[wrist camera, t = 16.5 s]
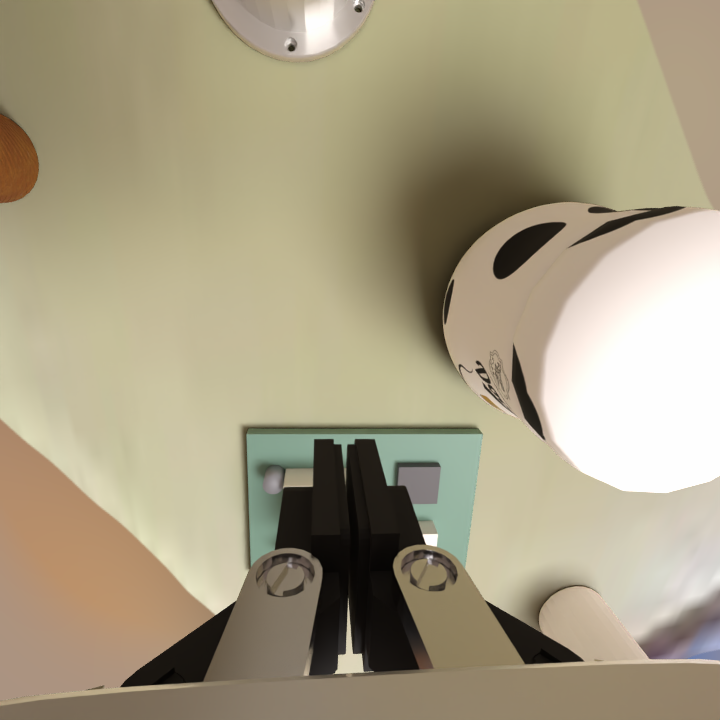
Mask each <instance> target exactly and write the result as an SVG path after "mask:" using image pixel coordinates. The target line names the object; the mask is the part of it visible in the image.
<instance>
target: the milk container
mask: <svg viewBox="0 0 720 720" xmlns="http://www.w3.org/2000/svg"><path fill="white" fill-rule="evenodd" d="M443 329H444V336H445V340H446V344H447V348H448V351H449V354H450V357H451V359H452V361H453V363H454V365H455V367H456V369H457V371H458V372H459V374H460V376H461V377H462V378H463V380H464V381H465V383H466V384H467V385H468V386H469V387H470V388H471V389H472V391H473V392H474V393H475V394H477V395H478V396H479V397H480V398H481V399H482V400H484V401H485V402H486V403H488V404H489V405H491V406H492V407H494V408H495V409H497V410H499V411H501V412H503V413H505V414H507V415H510V416H512V417H515V418H517V419H520V420H521V421H522V422H523V423H524V424H525V425H526V426H527V427H528V428H529V429H530V430H531V431H532V432H533V433H534V434H535V435H536V436H537V437H538V438H540V439H541V440H542V441H543V442H545V443H546V444H548V445H549V447H550V448H551V449H552V450H553V451H554V452H555V453H556V454H557V455H558V456H559V457H560V458H561V459H563V460H564V461H566V462H567V463H569V464H570V465H571V466H573V467H574V468H576V469H577V470H579V471H581V472H583V473H585V474H587V475H589V476H591V477H594V478H596V479H598V480H600V481H603V482H605V483H607V484H609V485H612V486H614V487H616V488H618V489H620V490H623V491H639V492H658V493H667V492H671V491H675V490H679V489H682V488H686V487H690V486H694V485H697V484H701V483H705V482H709V481H711V480H713V479H715V478H716V477H718V476H720V211H719V210H711V209H704V208H695V207H680V206H673V207H664V208H645V209H635V210H626V211H618V212H617V211H615V210H613V209H609V208H606V207H603V206H599V205H595V204H589V203H578V202H562V203H553V204H547V205H542V206H537V207H534V208H531V209H528V210H525V211H522V212H520V213H517V214H515V215H513V216H511V217H509V218H507V219H505V220H503V221H502V222H500V223H499V224H497V225H495V226H494V227H493V228H491V229H490V230H488V231H487V232H486V233H484V234H483V235H482V236H481V237H480V238H479V239H478V240H477V241H476V242H475V243H474V244H473V245H472V246H471V247H470V248H469V249H468V251H467V252H466V253H465V255H464V256H463V257H462V259H461V260H460V262H459V264H458V265H457V267H456V269H455V271H454V273H453V275H452V277H451V280H450V282H449V285H448V288H447V292H446V296H445V300H444V307H443Z"/></svg>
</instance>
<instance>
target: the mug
mask: <svg viewBox="0 0 720 720" xmlns="http://www.w3.org/2000/svg"><path fill="white" fill-rule="evenodd" d="M539 626H540V628H541V631H542V633H543V634H544V635H546V636H548V637H549V638H551V639H553V640H554V641H556V642H558V643H560V644H561V645H563V646H565V647H566V648H568V649H570V650H571V651H572V652H574V653H575V654H577V655H578V656H579V657H581V658H582V659H583V660H584V661H585V662H589V661H594V659H597V660H603V661H616V660H640V659H649V658H648V657H647V655H646V654H645V653H644V651H643V650H642V649H641V648H640V646H639V645H638V644H637V642H636V641H635V640H634V638H633V637H632V636H631V635H630V633H629V632H628V631H627V629H626V628H625V627H624V626H623V624H622V623H621V622H620V620H619V619H618V618H617V617H616V615H615V614H614V613H613V611H612V610H611V609H610V607H609V606H608V605H607V604H606V602H605V601H604V600H603V598H602V597H601V596H600V595H599V594H598V593H597V592H595V591H594V590H592V589H590V588H587V587H580V586H574V587H569V588H565V589H563V590H561V591H558V592H557V593H555V594H554V595H552V596H551V597H550V598H549V599H548V600H547V601H546V602H545V603H544V605H543V607H542V608H541V611H540V614H539Z"/></svg>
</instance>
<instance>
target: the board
mask: <svg viewBox="0 0 720 720" xmlns="http://www.w3.org/2000/svg"><path fill="white" fill-rule="evenodd" d="M246 435H247V465H248V496H249V526H250V556H251V567H252V565H253V564H254V562H255V561H257V560H258V559H259V558H260V557H261V556H263V555H265V554H267V553H269V552H271V551H274V550H275V544H276V537H277V530H278V523H279V516H280V509H281V502H282V495H283V489H284V487H313V459H314V439H334V444H341V445H342V455H343V465H344V475H345V485H346V458H347V444H354V441H355V439H375V442H376V445H377V449H378V453H379V457H380V460H381V464H382V468H383V472H384V475H385V479H386V483H387V486H396V485H404V486H406V488H407V490H408V493H409V496H410V499H411V502H412V505H413V508H414V511H415V514H416V517H417V519H418V522H419V525H420V528H421V531H422V534H423V537H424V540H425V543H426V545H431V546H436V547H439V548H441V549H444V550H446V551H448V552H449V553H451V554H452V555H454V556H455V557H456V558H457V559H458V560H459V561H460V563H461V564H462V565H463V567H464V568H465V565H466V557H467V550H468V542H469V535H470V527H471V520H472V512H473V505H474V497H475V490H476V482H477V475H478V467H479V460H480V452H481V445H482V437H483V434H482V432H481V431H480V430H479V429H248V432H247V434H246Z"/></svg>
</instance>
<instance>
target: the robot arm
mask: <svg viewBox="0 0 720 720" xmlns="http://www.w3.org/2000/svg"><path fill="white" fill-rule="evenodd" d="M374 1H375V0H212V2H213V4H214V5H215V7H216V9H217V11H218V12H219V14H220V16H221V18H222V19H223V20H224V21H225V23H226V24H227V25H228V26H229V28H230V29H231V30H232V31H233V33H234V34H236V35H237V36H238V37H239V38H240V39H241V40H242V41H244V42H245V43H246V44H247V45H248V46H250V47H252V48H253V49H255V50H257V51H258V52H260V53H262V54H263V55H266V56H269V57H272V58H275V59H277V60H282V61H289V62H307V61H314V60H317V59H320V58H323V57H327V56H329V55H330V54H332V53H334V52H336V51H337V50H339V49H341V48H342V47H343V46H345V45H346V44H347V43H348V42H349V41H350V40H351V39H352V38H353V37H354V36H355V35H356V34H357V32H358V31H359V30H360V28H361V27H362V26H363V24H364V23H365V21H366V19H367V17H368V15H369V13H370V11H371V9H372V7H373V4H374ZM356 8H360V9H361V12H360V13H358V12H356V11H355V9H356ZM290 46H293V47H294V48H295V50H294V51H292V52H290V51H289V50H288V48H289V47H290ZM348 598H349V611H350V624H351V636H352V649H353V654H361V653H362V659H363V669H364V672H367V673H349V674H333V673H335V671H336V670H337V666H338V655H341V654H345V653H346V632H347V609H348ZM368 671H374V672H368ZM0 720H720V661H716V660H702V659H640V660H616V661H603V660H597V659H594V661H589V662H585V661H584V660H583V659H582V658H581V657H579V656H578V655H577V654H575V653H574V652H572V651H571V650H570V649H568V648H566V647H565V646H563V645H561V644H560V643H558V642H556V641H554V640H553V639H551V638H549V637H548V636H546V635H544V634H542V633H541V632H539V631H537V630H535V629H534V628H532V627H530V626H529V625H527V624H525V623H523V622H522V621H520V620H518V619H517V618H515V617H513V616H511V615H510V614H508V613H506V612H504V611H503V610H501V609H499V608H498V607H496V606H494V605H492V604H491V603H489V602H487V601H486V600H484V598H483V597H482V595H481V594H480V592H479V591H478V589H477V587H476V586H475V584H474V583H473V581H472V579H471V578H470V576H469V575H468V573H467V572H466V570H465V568H464V567H463V565H462V564H461V563H460V561H459V560H458V559H457V558H456V557H455V556H454V555H452V554H451V553H449V552H448V551H446V550H444V549H441V548H439V547H436V546H431V545H426V543H425V540H424V537H423V534H422V531H421V528H420V525H419V522H418V519H417V517H416V514H415V511H414V508H413V505H412V502H411V499H410V496H409V493H408V490H407V488H406V486H404V485H396V486H387V483H386V479H385V475H384V472H383V468H382V464H381V460H380V457H379V453H378V449H377V445H376V442H375V439H355V441H354V444H347V458H346V485H345V475H344V465H343V455H342V445H341V444H334V439H314V459H313V487H284V489H283V495H282V502H281V509H280V516H279V523H278V530H277V537H276V544H275V550H274V551H271V552H269V553H267V554H265V555H263V556H261V557H260V558H259V559H258V560H257V561H255V562H254V564H253V565H252V567H251V568H250V570H249V572H248V574H247V577H246V579H245V581H244V584H243V586H242V589H241V591H240V593H239V596H238V598H237V601H235V602H234V603H233V604H231V605H230V606H228V607H227V608H225V609H224V610H223V611H221V612H220V613H218V614H217V615H215V616H214V617H213V618H211V619H210V620H208V621H207V622H206V623H204V624H203V625H201V626H200V627H199V628H197V629H196V630H194V631H193V632H191V633H190V634H188V635H187V636H186V637H184V638H183V639H181V640H180V641H179V642H177V643H176V644H174V645H173V646H171V647H170V648H169V649H167V650H166V651H164V652H163V653H162V654H160V655H159V656H157V657H156V658H154V659H153V660H152V661H150V662H149V663H147V664H146V665H145V666H143V667H142V668H140V669H139V670H137V671H136V672H135V673H134V674H133V675H132V676H130V677H129V678H128V679H127V680H126V681H125V682H124V683H123V684H122V685H121V687H120V688H104V686H100V687H96V688H92V689H88V690H84V691H74V692H65V693H54V694H44V695H34V696H24V697H20V698H13V699H8V700H2V701H0Z"/></svg>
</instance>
